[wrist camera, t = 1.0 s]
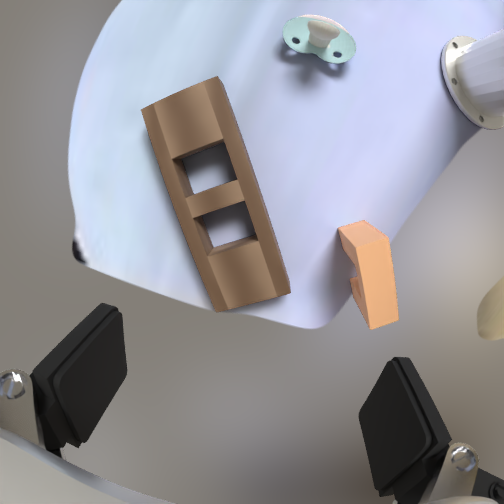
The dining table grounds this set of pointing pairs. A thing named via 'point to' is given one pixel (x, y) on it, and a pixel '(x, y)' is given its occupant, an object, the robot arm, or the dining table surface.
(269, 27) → the dining table surface
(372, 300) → the clip
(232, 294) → the rail
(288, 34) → the pacifier
